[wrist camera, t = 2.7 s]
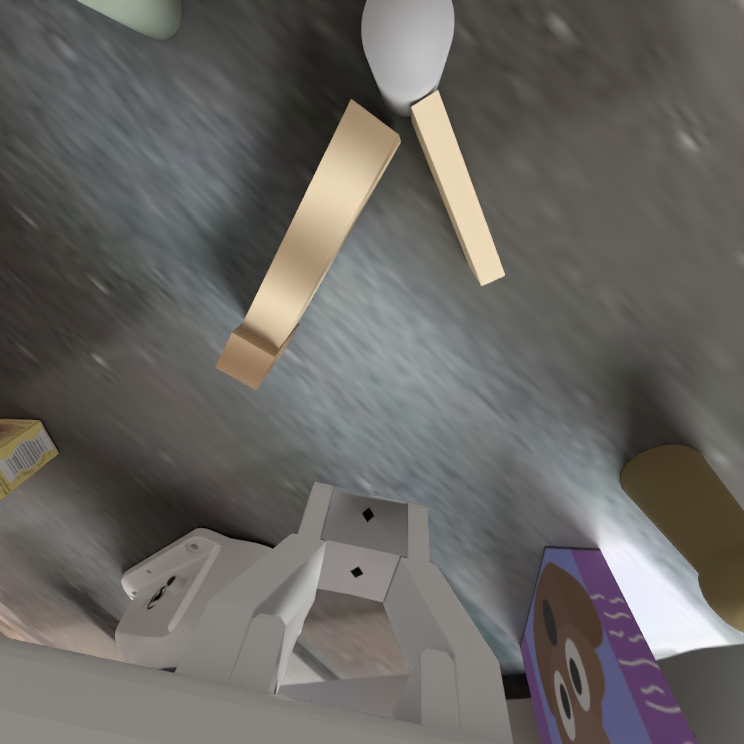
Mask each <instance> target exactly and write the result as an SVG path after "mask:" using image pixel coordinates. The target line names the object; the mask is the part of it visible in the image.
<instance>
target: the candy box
mask: <svg viewBox="0 0 744 744" xmlns="http://www.w3.org/2000/svg"><path fill="white" fill-rule="evenodd" d="M58 454H59V452H58V451H57V449H56V447H55V445H54V443H53V442H52V440H51V438H50V437H49V435H48V433H47V431H46V430H45V428H44V426H43V424H42V422H41V421H40V420H21V419H0V501H1V500H2V499H3V498H5V497H6V496H7V495H8V494H10V493H11V492H12V491H13V490H15V489H16V488H17V487H18V486H19V485H21V484H22V483H23V482H24V481H25V480H27V479H28V478H29V477H30V476H32V475H33V474H34V473H35V472H37V471H38V470H39V469H40V468H42V467H43V466H44V465H45V464H46V463H48V462H49V461H50V460H51V459H53V458H54V457H55V456H56V455H58Z"/></svg>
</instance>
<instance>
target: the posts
mask: <svg viewBox="0 0 744 744" xmlns="http://www.w3.org/2000/svg"><path fill="white" fill-rule="evenodd" d="M77 1H79V2H81V3H83V4H85V5H87V6H89V7H91V8H92V9H94V10H96V11H98V12H100V13H102V14H104V15H106V16H108V17H110V18H112V19H114V20H116V21H118V22H120V23H122V24H124V25H126V26H127V27H129V28H131V29H133V30H135V31H137V32H139V33H141V34H143V35H145V36H147V37H149V38H151V39H154V40H166V39H169V38H170V37H172V36H173V35H174V34H175V33H176V32H177V30H178V28H179V26H180V23H181V19H182V0H77ZM453 32H454V11H453V5H452V1H451V0H367V1H366V4H365V8H364V11H363V16H362V25H361V34H362V43H363V48H364V52H365V54H366V57H367V60H368V62H369V65H370V68H371V70H372V73H373V75H374V78H375V80H376V83H377V86H378V88H379V91H380V93H381V96H382V99H383V101H384V103H385V104H386V106H387V107H388V108H389V109H390V110H391V111H392V112H393V113H395V114H397V115H399V116H402V117H411V122H412V125H413V127H414V130H415V132H416V135H417V137H418V140H419V142H420V145H421V147H422V150H423V152H424V155H425V157H426V160H427V162H428V165H429V167H430V170H431V172H432V175H433V177H434V180H435V182H436V185H437V187H438V190H439V192H440V195H441V197H442V200H443V202H444V205H445V207H446V210H447V212H448V215H449V217H450V220H451V222H452V225H453V227H454V230H455V232H456V235H457V237H458V240H459V242H460V245H461V247H462V250H463V252H464V255H465V258H466V260H467V263H468V265H469V266H470V268H471V270H472V271H473V273H474V274H475V276H476V278H477V279H478V281H479V283H480V284H481V286H483V285H485V284H487V283H490V282H492V281H494V280H496V279H498V278H501V277H503V276H505V273H504V271H503V268H502V265H501V262H500V260H499V257H498V254H497V251H496V249H495V246H494V243H493V240H492V238H491V235H490V232H489V229H488V226H487V224H486V221H485V218H484V215H483V213H482V210H481V207H480V204H479V202H478V199H477V196H476V193H475V191H474V188H473V185H472V182H471V180H470V177H469V174H468V171H467V169H466V166H465V163H464V160H463V157H462V155H461V152H460V149H459V146H458V144H457V141H456V138H455V135H454V133H453V130H452V127H451V124H450V122H449V119H448V116H447V113H446V111H445V108H444V105H443V102H442V99H441V97H440V94H439V91H438V90H437V88H438V84H439V81H440V78H441V75H442V71H443V68H444V65H445V62H446V59H447V55H448V52H449V49H450V46H451V42H452V38H453Z"/></svg>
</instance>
